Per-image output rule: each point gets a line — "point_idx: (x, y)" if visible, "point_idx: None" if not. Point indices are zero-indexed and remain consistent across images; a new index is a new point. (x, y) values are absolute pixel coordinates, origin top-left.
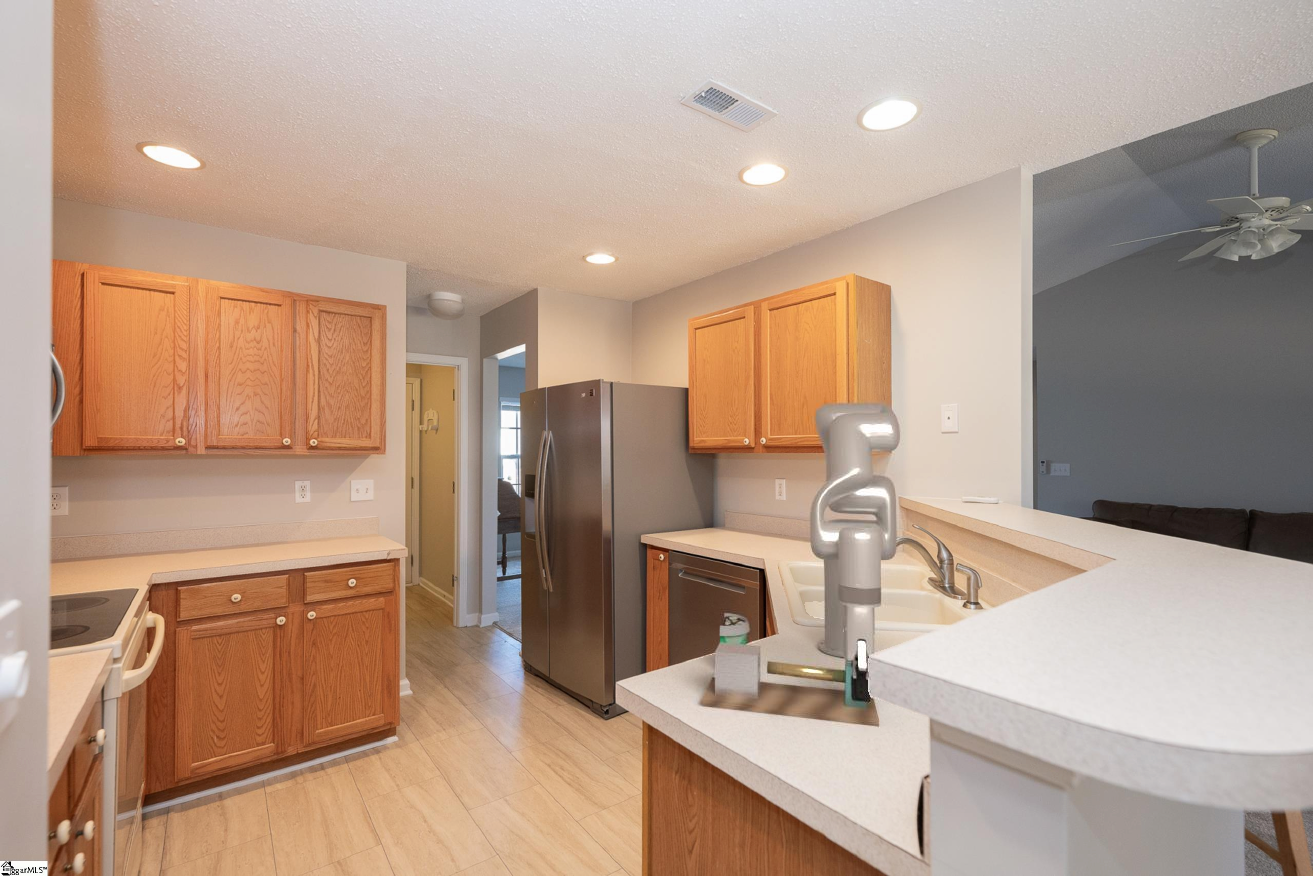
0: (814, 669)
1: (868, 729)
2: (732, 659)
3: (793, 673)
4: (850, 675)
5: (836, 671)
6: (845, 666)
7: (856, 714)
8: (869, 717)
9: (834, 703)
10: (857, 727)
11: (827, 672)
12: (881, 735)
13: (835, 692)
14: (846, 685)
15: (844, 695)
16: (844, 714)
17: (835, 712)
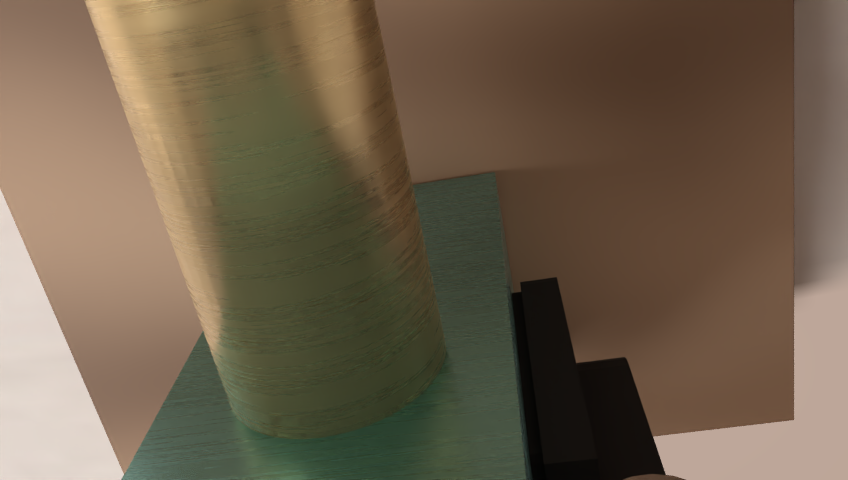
0: None
1: (49, 389)
2: None
3: None
4: None
5: (208, 277)
6: (377, 477)
7: (117, 327)
8: (121, 431)
9: None
10: (28, 309)
11: (116, 85)
12: (5, 474)
13: (672, 36)
14: (200, 345)
15: (608, 156)
16: (35, 224)
17: (23, 130)
